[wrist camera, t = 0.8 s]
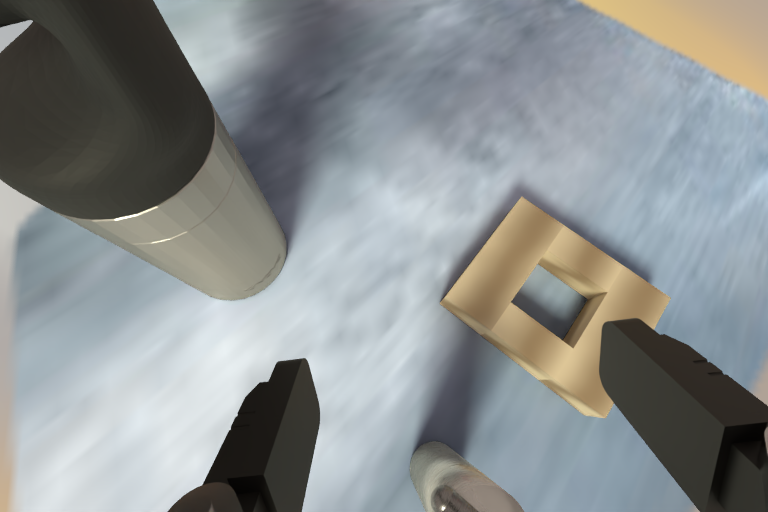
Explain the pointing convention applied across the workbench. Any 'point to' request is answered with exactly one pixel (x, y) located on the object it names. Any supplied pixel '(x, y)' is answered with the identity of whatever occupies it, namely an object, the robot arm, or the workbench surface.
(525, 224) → the wooden block with hole
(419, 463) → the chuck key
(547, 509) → the workbench surface
